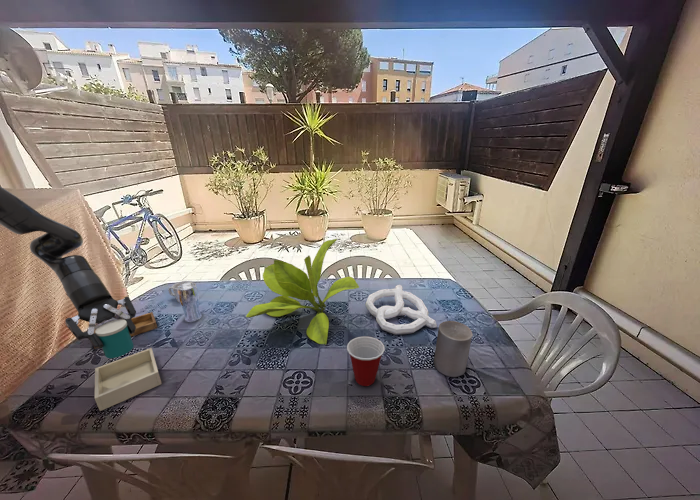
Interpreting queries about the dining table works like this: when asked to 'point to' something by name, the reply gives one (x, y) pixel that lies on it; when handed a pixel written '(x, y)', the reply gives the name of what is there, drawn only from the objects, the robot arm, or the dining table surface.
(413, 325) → the pretzel
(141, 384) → the shallow cream tray
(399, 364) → the dining table surface
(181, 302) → the beer glass
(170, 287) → the cup
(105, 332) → the container
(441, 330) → the pillar candle
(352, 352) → the plastic cup
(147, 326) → the brown wooden divided tray
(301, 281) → the artificial plant
